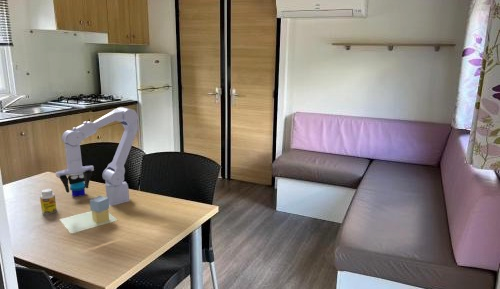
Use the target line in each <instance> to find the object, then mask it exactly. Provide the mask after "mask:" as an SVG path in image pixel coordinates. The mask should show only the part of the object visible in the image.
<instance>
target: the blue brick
mask: <svg viewBox="0 0 500 289" xmlns="http://www.w3.org/2000/svg"><path fill="white" fill-rule="evenodd" d="M89 206H90V208H89V209H90V211H95V212H98V213H100V212H102V211H104V210H107V209H108V210H109V209H110V206H109V200H108V198H107V196H106V197H105V196H102V195H98V196H96V197H94V198H91V199H89Z"/></svg>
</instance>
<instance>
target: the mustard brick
mask: <svg viewBox="0 0 500 289" xmlns="http://www.w3.org/2000/svg"><path fill="white" fill-rule="evenodd" d="M91 211H92V210H91ZM109 213H110V212H109V209H107V210H104V211H102V212H100V213H98V212H95V211H92V219H93V220H94V221H95V222H96V223H100V222H104V221H107V220H109Z"/></svg>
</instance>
